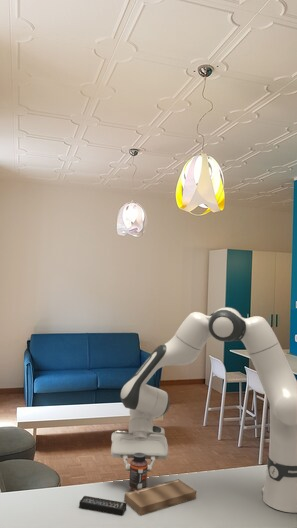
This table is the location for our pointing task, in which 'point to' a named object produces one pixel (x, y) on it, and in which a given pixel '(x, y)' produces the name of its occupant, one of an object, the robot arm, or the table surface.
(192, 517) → the table surface
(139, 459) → the supplement bottle
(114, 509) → the multiport hub
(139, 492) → the walnut board
